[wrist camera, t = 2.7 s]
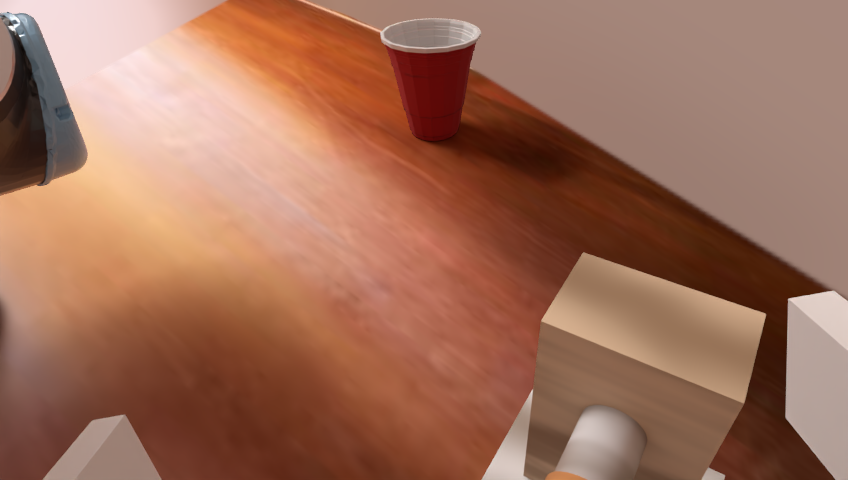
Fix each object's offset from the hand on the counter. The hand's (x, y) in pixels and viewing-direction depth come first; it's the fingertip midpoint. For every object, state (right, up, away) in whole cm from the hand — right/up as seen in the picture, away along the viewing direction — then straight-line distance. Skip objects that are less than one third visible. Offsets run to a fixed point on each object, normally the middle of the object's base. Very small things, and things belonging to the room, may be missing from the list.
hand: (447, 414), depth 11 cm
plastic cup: (+1, +17, +56) cm, 59 cm away
